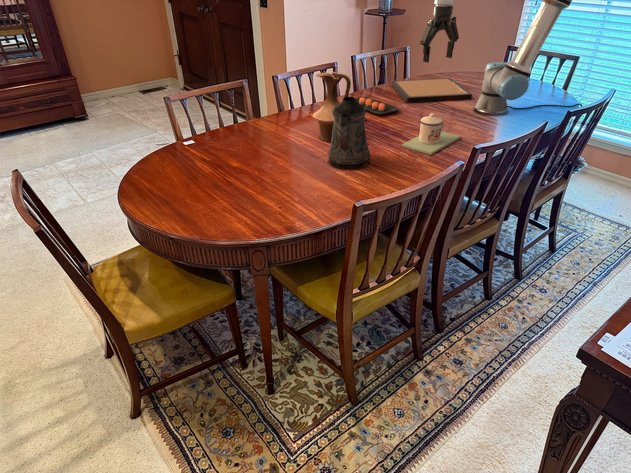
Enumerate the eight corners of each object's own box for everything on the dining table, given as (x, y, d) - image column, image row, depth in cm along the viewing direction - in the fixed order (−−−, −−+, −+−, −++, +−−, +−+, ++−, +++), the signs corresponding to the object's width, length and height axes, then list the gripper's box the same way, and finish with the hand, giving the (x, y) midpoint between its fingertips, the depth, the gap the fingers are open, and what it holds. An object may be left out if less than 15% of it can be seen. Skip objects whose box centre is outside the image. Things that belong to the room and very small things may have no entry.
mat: (432, 131, 197) (432, 128, 196) (460, 138, 189) (460, 136, 188) (401, 146, 183) (401, 144, 182) (430, 155, 175) (430, 152, 174)
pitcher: (356, 132, 198) (358, 68, 182) (346, 146, 184) (347, 78, 169) (320, 129, 203) (318, 66, 187) (307, 142, 189) (305, 76, 174)
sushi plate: (401, 112, 220) (402, 104, 218) (355, 125, 206) (355, 117, 204) (364, 99, 240) (364, 92, 238) (320, 110, 226) (320, 102, 224)
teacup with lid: (428, 146, 179) (432, 119, 173) (413, 140, 186) (416, 113, 179) (449, 140, 184) (453, 113, 178) (434, 134, 191) (437, 107, 184)
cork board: (391, 85, 261) (406, 103, 232) (392, 80, 260) (407, 97, 230) (449, 82, 263) (471, 99, 234) (449, 77, 262) (472, 94, 232)
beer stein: (362, 151, 180) (364, 89, 166) (377, 170, 164) (381, 104, 150) (323, 155, 177) (322, 93, 163) (335, 175, 161) (335, 109, 147)
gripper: (458, 1, 185) (452, 54, 197) (414, 7, 175) (409, 62, 187) (472, 2, 180) (464, 57, 192) (427, 8, 170) (421, 65, 181)
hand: (437, 59), depth 189 cm, fingers open, 13 cm apart
